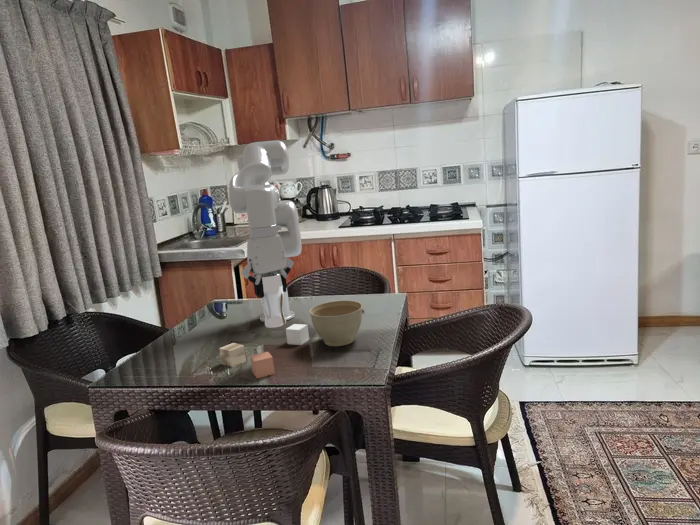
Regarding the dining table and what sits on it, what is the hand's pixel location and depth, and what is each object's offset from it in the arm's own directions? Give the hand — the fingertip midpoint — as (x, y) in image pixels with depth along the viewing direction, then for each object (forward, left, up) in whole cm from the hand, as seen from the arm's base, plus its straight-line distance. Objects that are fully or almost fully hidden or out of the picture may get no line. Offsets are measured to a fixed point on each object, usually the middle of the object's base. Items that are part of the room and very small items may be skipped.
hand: (271, 293), depth 150 cm
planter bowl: (+2, +20, -20) cm, 28 cm away
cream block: (-8, +11, -20) cm, 24 cm away
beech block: (-7, -11, -20) cm, 24 cm away
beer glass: (0, 0, -9) cm, 9 cm away
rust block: (+7, -8, -20) cm, 22 cm away
